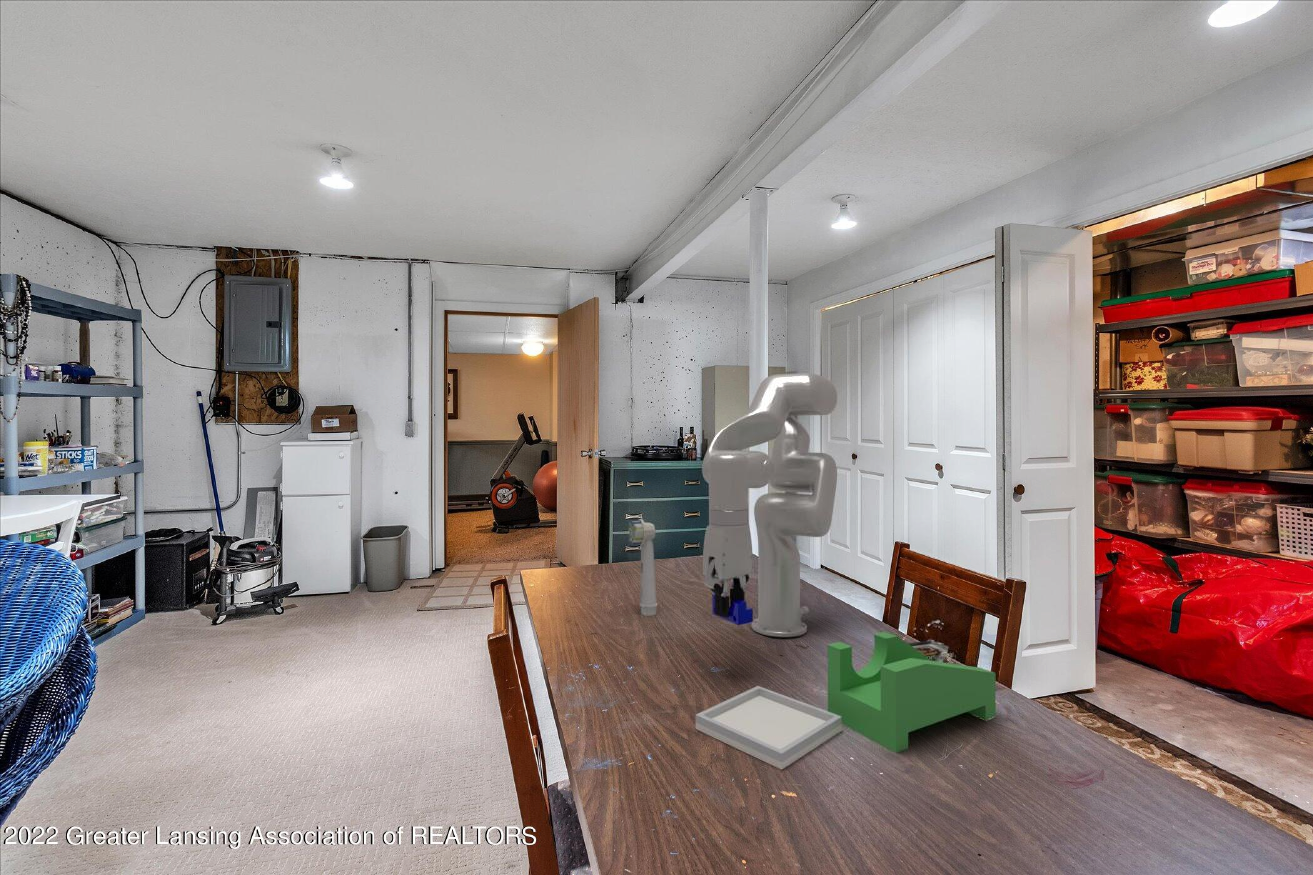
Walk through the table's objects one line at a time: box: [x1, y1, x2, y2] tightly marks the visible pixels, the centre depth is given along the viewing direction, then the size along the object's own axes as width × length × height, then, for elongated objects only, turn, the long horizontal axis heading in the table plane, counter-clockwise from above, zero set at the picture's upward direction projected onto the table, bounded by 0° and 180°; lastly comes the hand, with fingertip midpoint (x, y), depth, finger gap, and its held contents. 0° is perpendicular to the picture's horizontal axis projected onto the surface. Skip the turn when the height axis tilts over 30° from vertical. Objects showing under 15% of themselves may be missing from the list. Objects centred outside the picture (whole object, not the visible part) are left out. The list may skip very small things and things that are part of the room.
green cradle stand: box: [827, 631, 997, 754], centre depth 98 cm, size 24×13×12 cm, turn 119°
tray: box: [695, 685, 843, 770], centre depth 94 cm, size 16×16×2 cm
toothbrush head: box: [628, 518, 659, 617], centre depth 151 cm, size 5×7×25 cm
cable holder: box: [711, 592, 754, 626], centre depth 115 cm, size 8×4×4 cm, turn 31°
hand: (729, 612), depth 115 cm, fingers closed on cable holder, 3 cm apart
